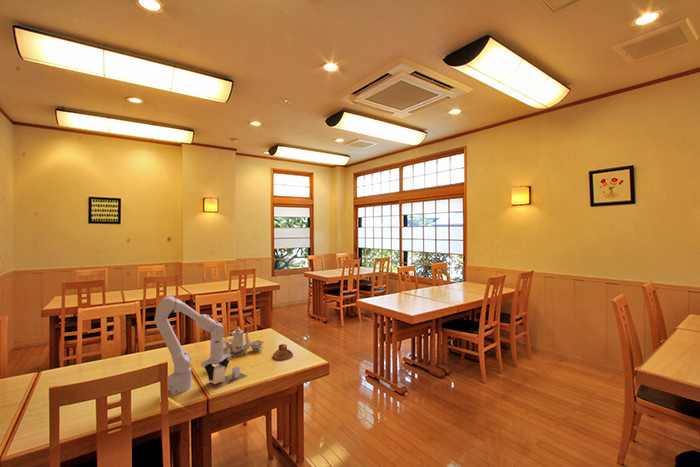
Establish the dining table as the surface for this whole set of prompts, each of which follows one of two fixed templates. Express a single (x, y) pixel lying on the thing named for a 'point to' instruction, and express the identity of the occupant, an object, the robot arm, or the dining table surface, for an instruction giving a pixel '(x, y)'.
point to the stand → (225, 381)
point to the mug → (224, 353)
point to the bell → (282, 353)
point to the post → (236, 372)
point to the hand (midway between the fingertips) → (216, 377)
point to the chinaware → (241, 343)
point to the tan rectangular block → (218, 374)
